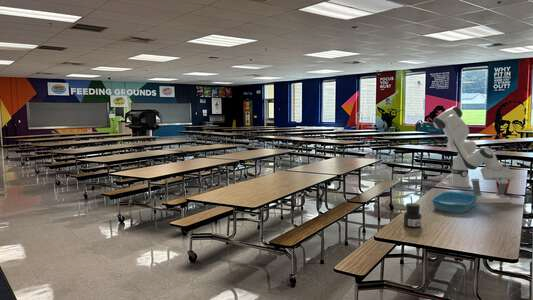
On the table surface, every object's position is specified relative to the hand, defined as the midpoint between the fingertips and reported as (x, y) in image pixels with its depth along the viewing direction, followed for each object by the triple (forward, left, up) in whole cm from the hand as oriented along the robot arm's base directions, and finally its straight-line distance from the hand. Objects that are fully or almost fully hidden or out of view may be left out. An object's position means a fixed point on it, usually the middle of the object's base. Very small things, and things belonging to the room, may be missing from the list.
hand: (502, 184), depth 260 cm
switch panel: (-2, -8, -12) cm, 14 cm away
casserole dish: (+12, -43, -12) cm, 46 cm away
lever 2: (-2, 0, -7) cm, 8 cm away
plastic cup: (-23, +19, -12) cm, 32 cm away
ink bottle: (+46, -89, -12) cm, 101 cm away
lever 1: (-3, -16, -7) cm, 18 cm away
